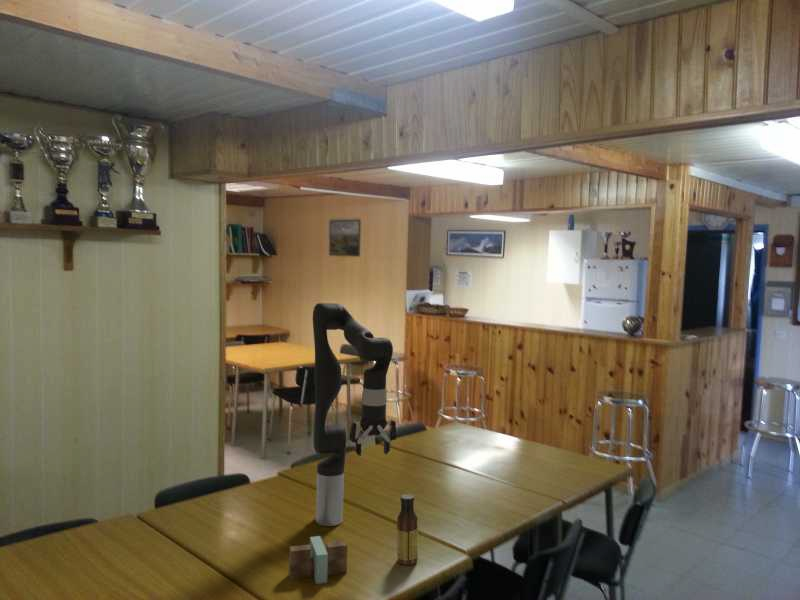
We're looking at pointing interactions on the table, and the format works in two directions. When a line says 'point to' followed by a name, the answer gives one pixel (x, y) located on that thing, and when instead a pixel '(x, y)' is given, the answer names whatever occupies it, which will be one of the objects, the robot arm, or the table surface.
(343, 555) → the walnut u-shaped block
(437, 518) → the table surface
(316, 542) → the teal board
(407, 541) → the sauce bottle
